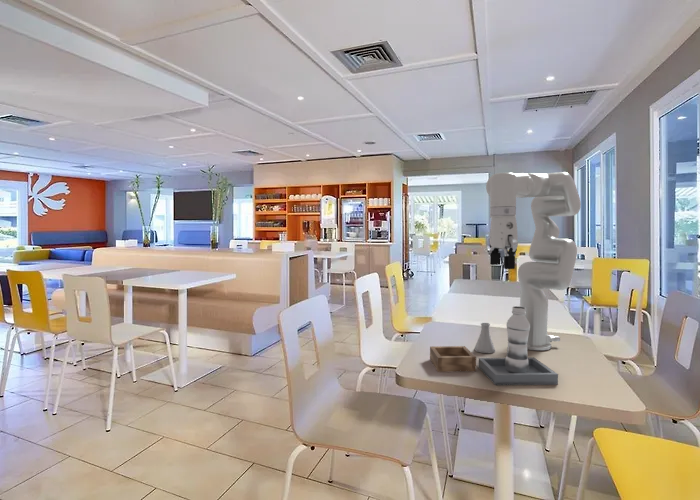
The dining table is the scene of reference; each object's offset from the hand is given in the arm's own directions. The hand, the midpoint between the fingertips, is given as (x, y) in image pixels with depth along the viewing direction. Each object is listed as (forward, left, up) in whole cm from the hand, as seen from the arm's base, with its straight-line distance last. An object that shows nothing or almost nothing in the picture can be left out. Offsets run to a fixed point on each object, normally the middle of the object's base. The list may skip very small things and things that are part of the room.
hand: (502, 266), depth 125 cm
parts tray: (-2, +8, -32) cm, 33 cm away
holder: (+15, -1, -32) cm, 36 cm away
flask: (-1, -15, -33) cm, 36 cm away
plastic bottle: (-2, +8, -32) cm, 33 cm away
